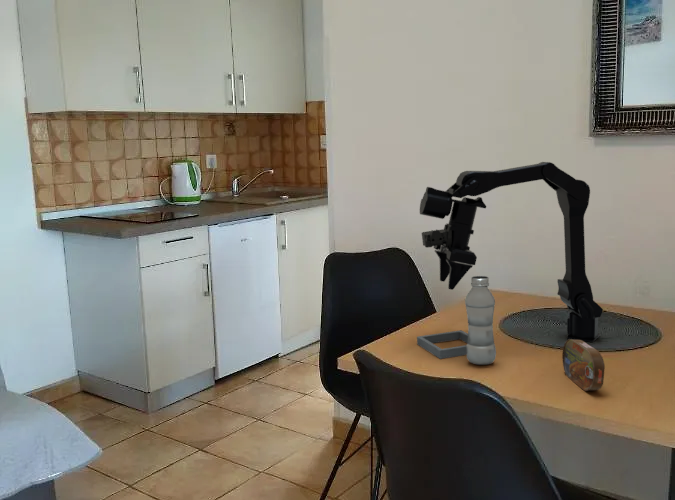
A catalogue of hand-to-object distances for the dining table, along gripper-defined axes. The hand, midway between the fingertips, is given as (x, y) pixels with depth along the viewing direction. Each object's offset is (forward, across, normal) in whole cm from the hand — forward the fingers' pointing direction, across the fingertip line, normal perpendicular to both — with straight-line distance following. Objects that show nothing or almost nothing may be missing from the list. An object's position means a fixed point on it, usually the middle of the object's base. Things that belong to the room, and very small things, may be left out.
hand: (446, 285), depth 164 cm
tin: (+10, +30, +25) cm, 40 cm away
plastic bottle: (+14, +14, +8) cm, 21 cm away
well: (+15, +2, +4) cm, 16 cm away
